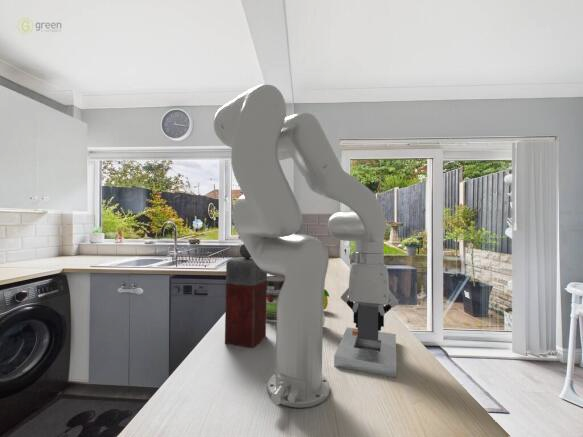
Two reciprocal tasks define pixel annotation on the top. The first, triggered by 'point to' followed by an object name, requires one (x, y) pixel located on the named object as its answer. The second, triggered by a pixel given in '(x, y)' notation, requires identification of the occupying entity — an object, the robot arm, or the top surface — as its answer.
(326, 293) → the lemon
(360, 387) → the top surface
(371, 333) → the plug
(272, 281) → the coffee can
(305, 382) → the robot arm
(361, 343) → the socket plate
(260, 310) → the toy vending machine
